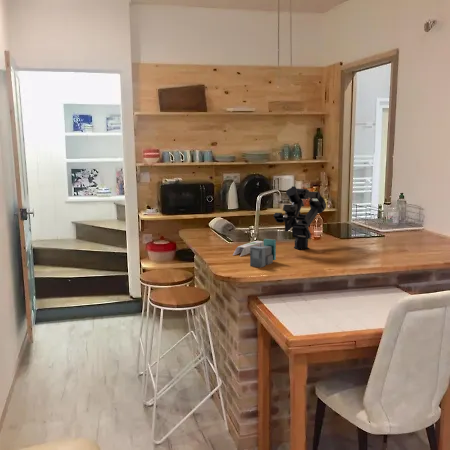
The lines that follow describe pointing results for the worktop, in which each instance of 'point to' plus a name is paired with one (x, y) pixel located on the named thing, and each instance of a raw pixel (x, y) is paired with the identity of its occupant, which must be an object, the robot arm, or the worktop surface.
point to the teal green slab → (272, 243)
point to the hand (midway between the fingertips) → (285, 231)
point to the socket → (257, 256)
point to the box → (247, 247)
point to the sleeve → (268, 255)
